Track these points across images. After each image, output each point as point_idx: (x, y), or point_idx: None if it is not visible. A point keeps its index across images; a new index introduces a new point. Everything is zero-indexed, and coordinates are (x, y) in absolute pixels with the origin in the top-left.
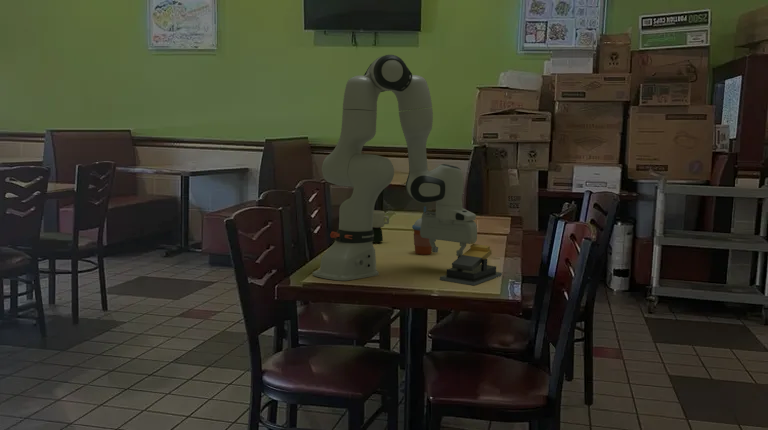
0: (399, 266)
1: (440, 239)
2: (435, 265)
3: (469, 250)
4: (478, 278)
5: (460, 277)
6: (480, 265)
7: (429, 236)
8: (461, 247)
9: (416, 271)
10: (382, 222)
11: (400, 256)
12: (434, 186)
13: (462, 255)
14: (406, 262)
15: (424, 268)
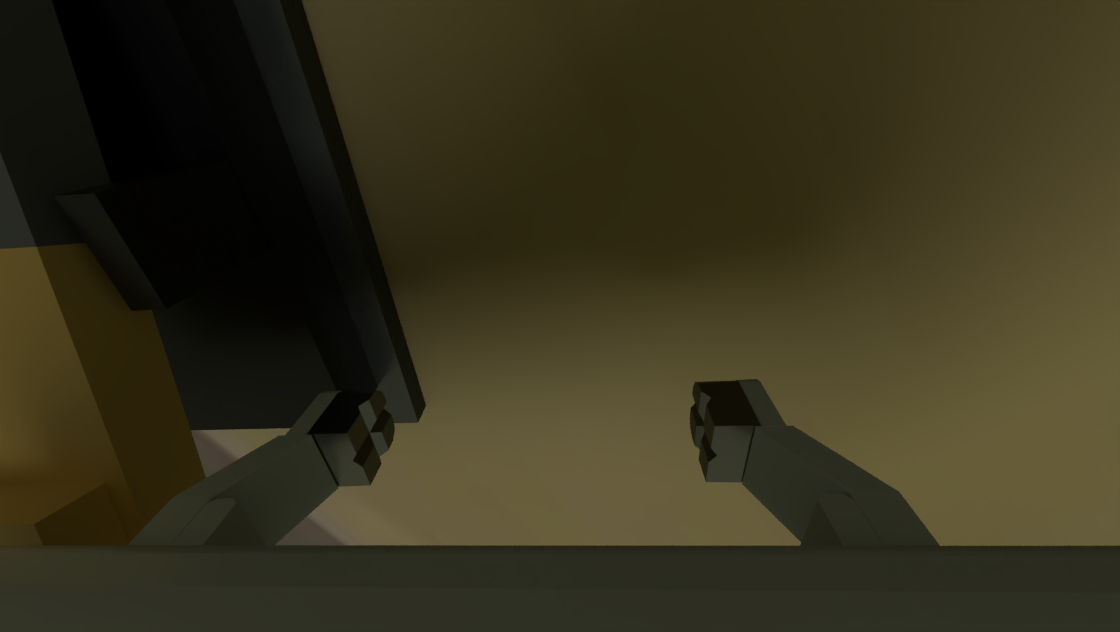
0: (1063, 120)
1: (620, 551)
2: None
3: (88, 444)
4: None
5: None
6: (191, 382)
7: (988, 593)
8: (224, 478)
9: (768, 8)
10: None
11: (1111, 489)
12: None
13: (10, 225)
14: (1014, 345)
15: (755, 235)
